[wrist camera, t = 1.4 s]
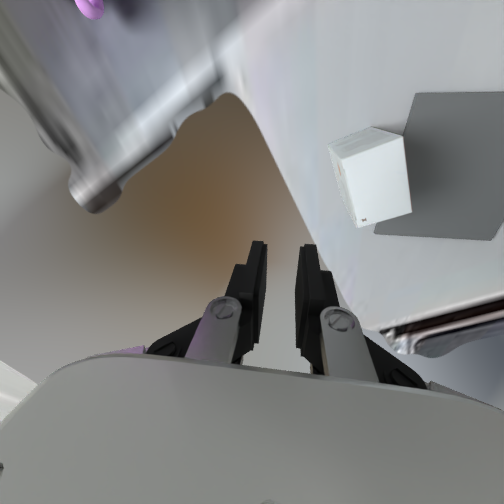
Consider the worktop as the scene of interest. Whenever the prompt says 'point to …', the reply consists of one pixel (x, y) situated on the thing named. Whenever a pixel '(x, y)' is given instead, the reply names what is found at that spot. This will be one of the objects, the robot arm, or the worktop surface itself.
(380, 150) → the small box
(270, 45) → the worktop surface
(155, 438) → the robot arm
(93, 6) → the teapot
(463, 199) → the mat
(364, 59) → the worktop surface
